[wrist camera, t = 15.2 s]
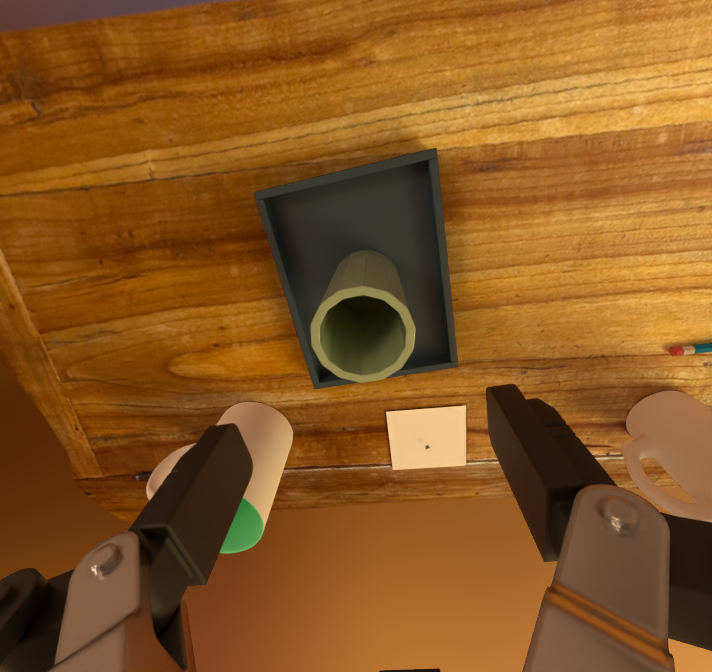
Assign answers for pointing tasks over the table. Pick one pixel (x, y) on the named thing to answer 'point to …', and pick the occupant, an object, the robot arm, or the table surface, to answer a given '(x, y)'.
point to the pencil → (691, 349)
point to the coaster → (427, 437)
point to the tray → (366, 248)
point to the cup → (364, 320)
